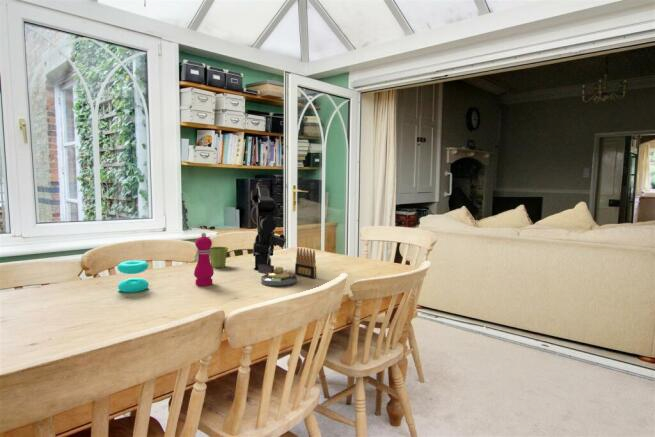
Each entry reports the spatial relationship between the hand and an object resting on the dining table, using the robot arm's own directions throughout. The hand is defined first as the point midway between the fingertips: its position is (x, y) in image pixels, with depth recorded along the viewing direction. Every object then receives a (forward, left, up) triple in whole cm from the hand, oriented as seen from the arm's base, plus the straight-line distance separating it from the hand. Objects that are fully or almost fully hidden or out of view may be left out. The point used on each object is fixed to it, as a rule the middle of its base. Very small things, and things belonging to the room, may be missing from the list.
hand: (265, 265), depth 174 cm
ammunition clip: (+17, 0, -4) cm, 18 cm away
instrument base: (+8, -12, -4) cm, 15 cm away
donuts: (-42, -30, -4) cm, 52 cm away
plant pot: (-25, +12, -4) cm, 28 cm away
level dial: (+5, -10, -2) cm, 12 cm away
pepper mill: (-20, -19, -4) cm, 28 cm away
